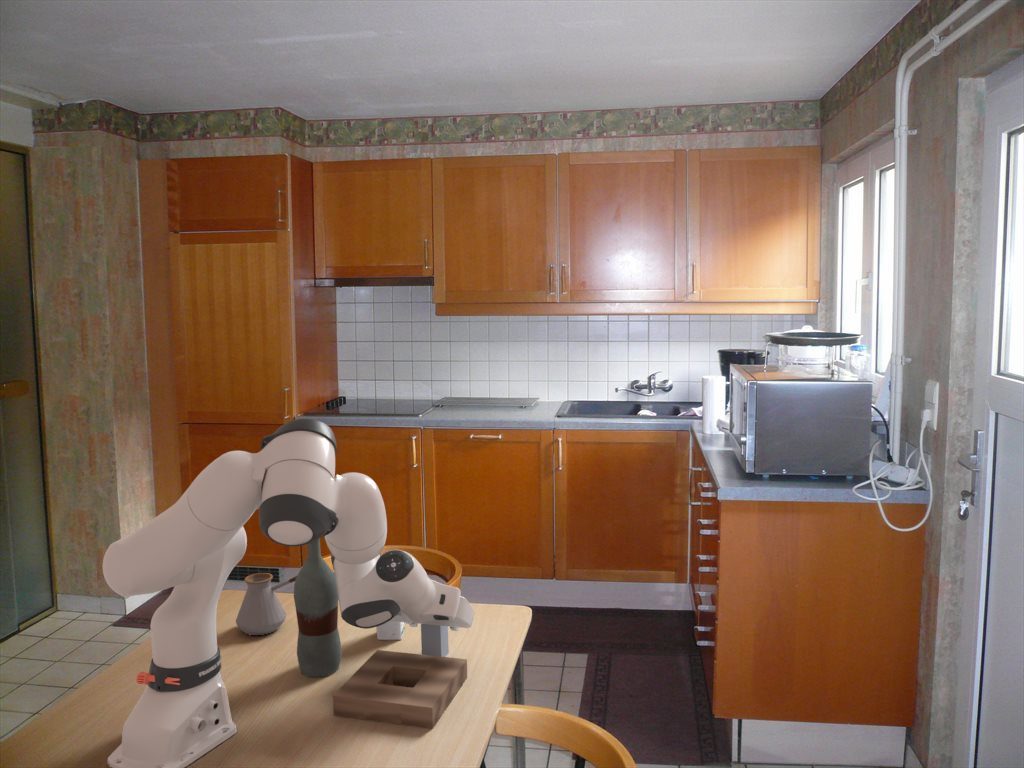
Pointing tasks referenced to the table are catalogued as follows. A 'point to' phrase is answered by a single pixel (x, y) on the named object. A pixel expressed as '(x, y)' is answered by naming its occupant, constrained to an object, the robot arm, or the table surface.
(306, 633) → the bottle
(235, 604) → the table surface
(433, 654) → the peg
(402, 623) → the syrup box
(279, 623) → the coffee pot
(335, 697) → the socket block
